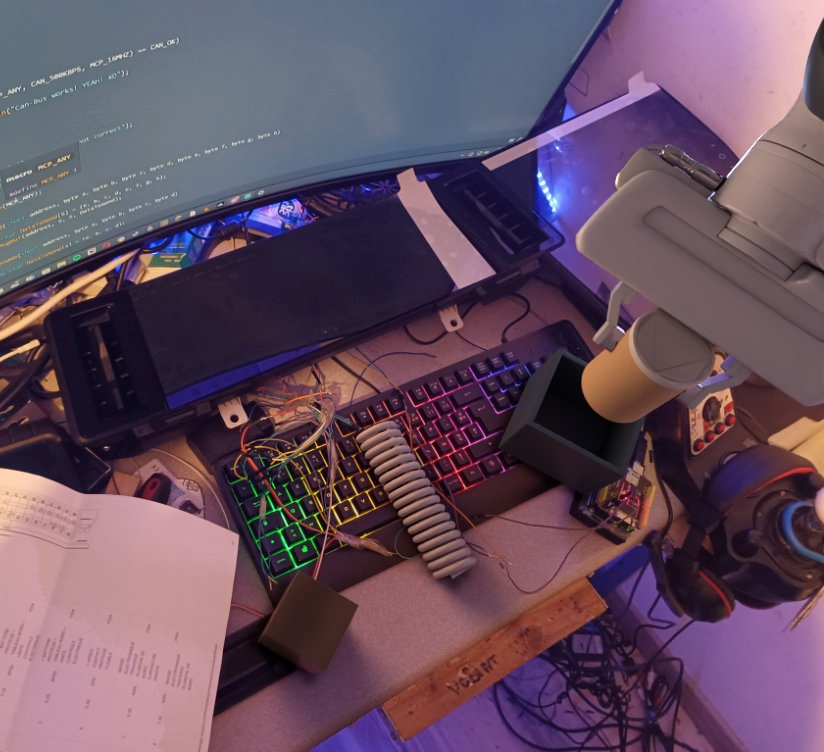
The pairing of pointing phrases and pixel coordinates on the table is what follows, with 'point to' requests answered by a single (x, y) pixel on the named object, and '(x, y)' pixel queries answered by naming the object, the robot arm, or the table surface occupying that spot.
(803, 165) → the robot arm
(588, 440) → the waste bin
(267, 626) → the block
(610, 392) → the paper cup
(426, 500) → the coil
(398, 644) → the table surface
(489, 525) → the table surface
